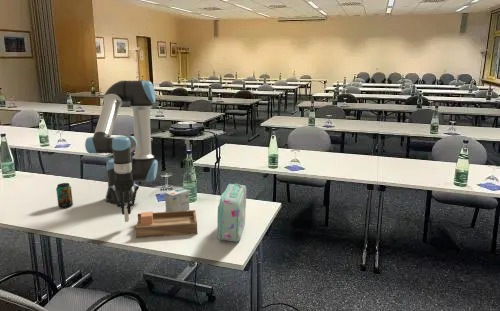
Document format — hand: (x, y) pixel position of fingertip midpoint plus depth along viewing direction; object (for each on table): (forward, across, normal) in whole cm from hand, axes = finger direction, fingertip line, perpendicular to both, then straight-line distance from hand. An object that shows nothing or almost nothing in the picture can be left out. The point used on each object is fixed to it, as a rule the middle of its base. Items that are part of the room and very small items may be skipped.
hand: (126, 220), depth 184 cm
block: (+2, +9, 0) cm, 9 cm away
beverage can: (+4, -35, +34) cm, 49 cm away
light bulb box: (+4, +23, +18) cm, 30 cm away
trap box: (+4, +18, -3) cm, 19 cm away
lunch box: (+4, +47, -12) cm, 49 cm away
